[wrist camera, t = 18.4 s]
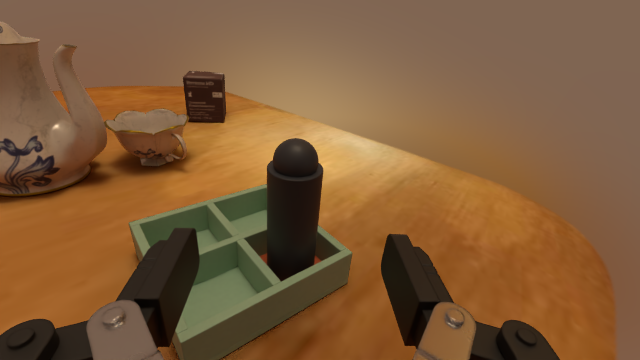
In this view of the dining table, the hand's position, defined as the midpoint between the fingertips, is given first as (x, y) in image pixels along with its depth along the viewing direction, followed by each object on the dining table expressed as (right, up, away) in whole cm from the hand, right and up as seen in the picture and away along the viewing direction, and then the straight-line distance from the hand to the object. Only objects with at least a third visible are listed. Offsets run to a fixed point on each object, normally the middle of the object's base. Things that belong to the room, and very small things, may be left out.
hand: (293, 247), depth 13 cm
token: (-1, -4, +10) cm, 11 cm away
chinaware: (-28, +4, +23) cm, 37 cm away
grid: (-5, -4, +11) cm, 13 cm away
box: (-19, +14, +42) cm, 48 cm away
